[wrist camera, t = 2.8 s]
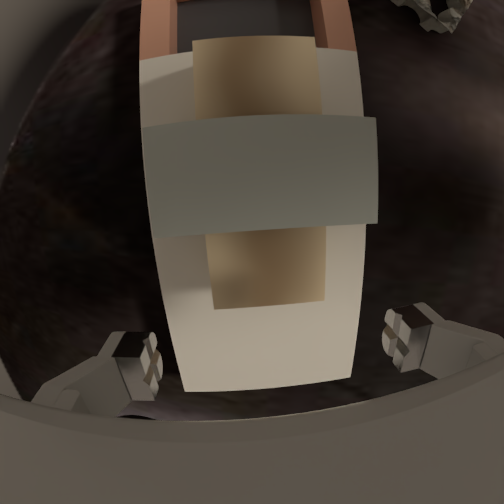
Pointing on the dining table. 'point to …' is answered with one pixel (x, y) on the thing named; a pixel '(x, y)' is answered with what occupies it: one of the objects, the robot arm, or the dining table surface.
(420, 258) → the dining table surface
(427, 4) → the egg carton
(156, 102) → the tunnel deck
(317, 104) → the maple bar
